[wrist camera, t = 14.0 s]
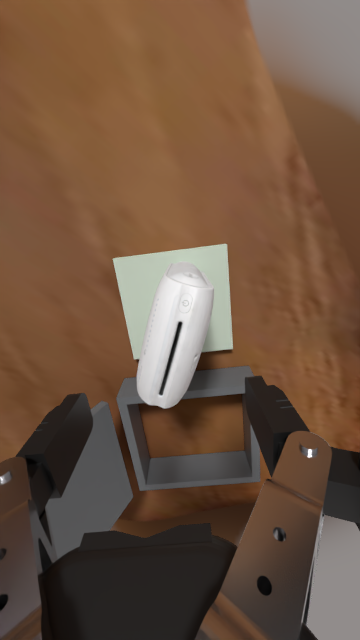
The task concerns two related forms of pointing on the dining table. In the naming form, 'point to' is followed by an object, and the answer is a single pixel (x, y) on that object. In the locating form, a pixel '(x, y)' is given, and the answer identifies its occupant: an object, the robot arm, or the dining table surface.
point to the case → (191, 467)
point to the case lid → (92, 487)
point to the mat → (144, 277)
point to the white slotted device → (174, 334)
